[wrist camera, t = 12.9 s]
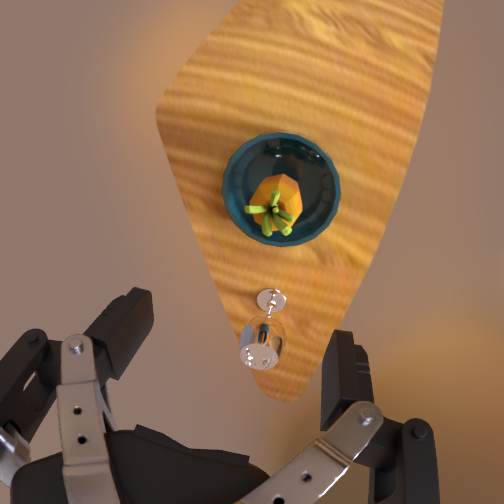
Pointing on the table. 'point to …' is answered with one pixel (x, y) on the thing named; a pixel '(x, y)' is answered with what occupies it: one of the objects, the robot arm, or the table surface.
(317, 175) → the bowl
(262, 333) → the wineglass
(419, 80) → the table surface
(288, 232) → the carrot
